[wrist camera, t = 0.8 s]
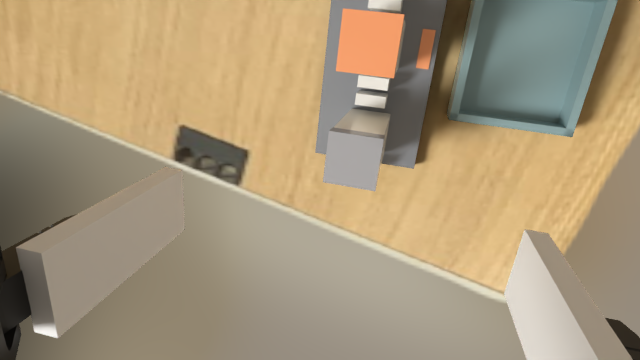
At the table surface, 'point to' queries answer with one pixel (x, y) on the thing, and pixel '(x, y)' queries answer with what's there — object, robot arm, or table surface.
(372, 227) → the table surface
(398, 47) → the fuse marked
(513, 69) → the tray
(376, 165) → the block
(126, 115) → the table surface
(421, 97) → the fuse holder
